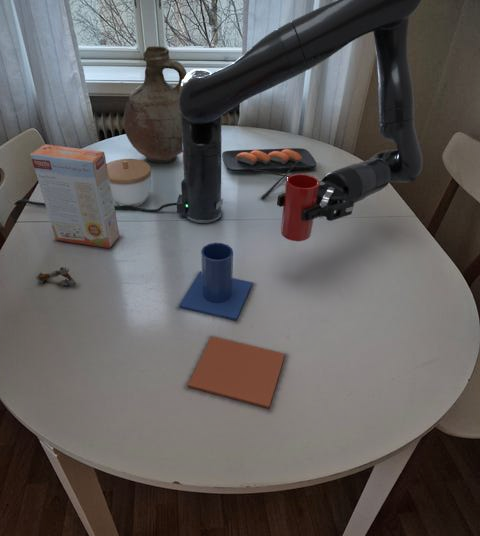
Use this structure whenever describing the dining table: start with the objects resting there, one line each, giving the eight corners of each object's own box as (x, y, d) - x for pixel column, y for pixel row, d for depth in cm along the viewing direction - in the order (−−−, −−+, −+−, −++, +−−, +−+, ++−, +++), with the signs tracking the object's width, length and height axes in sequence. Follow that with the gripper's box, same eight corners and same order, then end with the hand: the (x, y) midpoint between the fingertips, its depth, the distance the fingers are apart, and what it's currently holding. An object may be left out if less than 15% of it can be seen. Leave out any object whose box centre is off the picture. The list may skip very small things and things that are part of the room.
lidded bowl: (97, 206, 114) (88, 166, 106) (123, 186, 123) (117, 148, 115) (138, 217, 111) (132, 176, 103) (162, 196, 120) (159, 156, 112)
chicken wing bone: (76, 286, 88) (63, 268, 86) (48, 293, 91) (34, 276, 89) (81, 281, 90) (68, 263, 87) (52, 287, 93) (39, 271, 90)
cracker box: (120, 236, 104) (105, 150, 90) (109, 249, 100) (92, 161, 85) (67, 227, 106) (44, 142, 92) (54, 240, 102) (28, 152, 87)
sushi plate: (305, 153, 145) (307, 141, 142) (334, 195, 123) (337, 183, 121) (220, 156, 140) (220, 144, 138) (235, 200, 119) (235, 187, 116)
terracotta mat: (187, 387, 72) (187, 384, 71) (211, 338, 80) (211, 336, 80) (269, 408, 69) (269, 406, 69) (284, 355, 78) (285, 353, 77)
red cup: (277, 238, 85) (283, 185, 77) (284, 222, 89) (290, 171, 81) (307, 243, 84) (316, 191, 76) (312, 228, 88) (321, 176, 80)
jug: (131, 143, 145) (117, 39, 125) (194, 143, 148) (191, 41, 127) (125, 171, 130) (108, 58, 109) (197, 170, 132) (193, 59, 111)
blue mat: (179, 307, 86) (179, 305, 86) (200, 273, 95) (200, 271, 94) (236, 320, 84) (236, 318, 84) (252, 284, 92) (252, 282, 92)
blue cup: (198, 301, 88) (196, 257, 80) (208, 283, 92) (207, 240, 84) (226, 308, 87) (227, 263, 79) (235, 289, 91) (236, 246, 83)
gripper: (326, 155, 90) (266, 175, 82) (381, 181, 82) (321, 206, 74) (320, 188, 95) (263, 210, 87) (372, 216, 87) (315, 243, 79)
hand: (290, 208), depth 81 cm, fingers closed on red cup, 6 cm apart
